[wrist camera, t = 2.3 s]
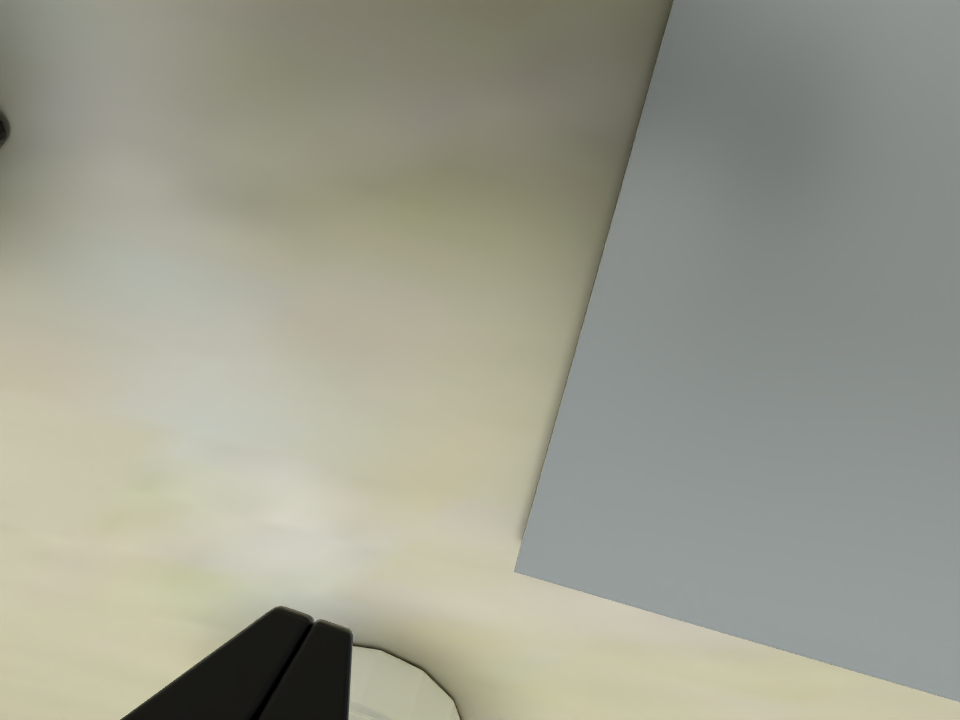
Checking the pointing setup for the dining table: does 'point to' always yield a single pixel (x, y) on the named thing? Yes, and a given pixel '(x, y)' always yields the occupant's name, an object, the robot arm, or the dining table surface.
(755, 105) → the switch board
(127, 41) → the dining table surface
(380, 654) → the white cup
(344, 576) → the dining table surface
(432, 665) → the dining table surface
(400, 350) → the dining table surface
